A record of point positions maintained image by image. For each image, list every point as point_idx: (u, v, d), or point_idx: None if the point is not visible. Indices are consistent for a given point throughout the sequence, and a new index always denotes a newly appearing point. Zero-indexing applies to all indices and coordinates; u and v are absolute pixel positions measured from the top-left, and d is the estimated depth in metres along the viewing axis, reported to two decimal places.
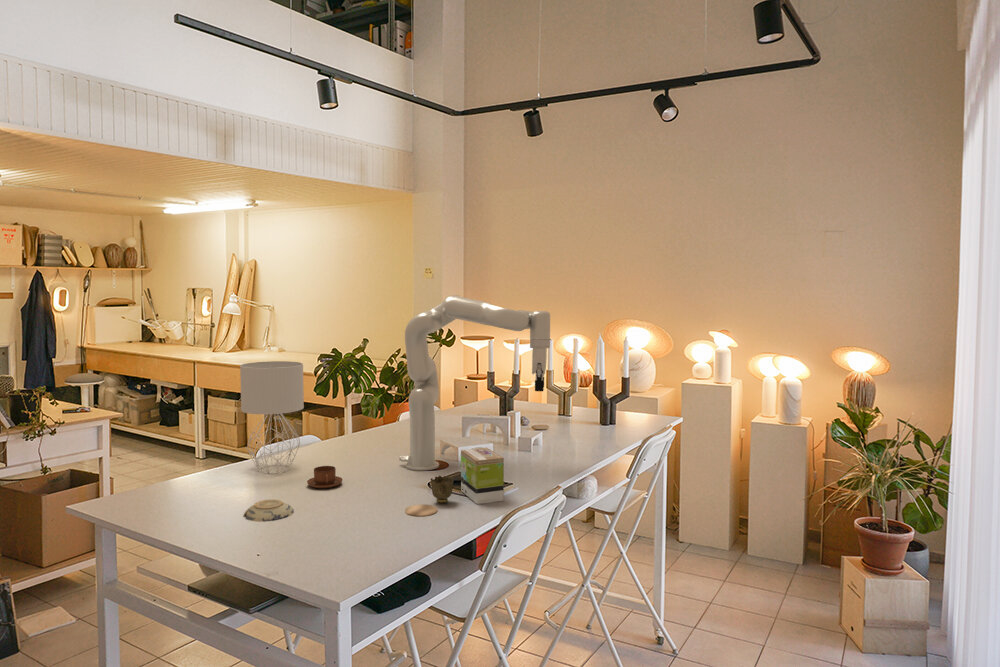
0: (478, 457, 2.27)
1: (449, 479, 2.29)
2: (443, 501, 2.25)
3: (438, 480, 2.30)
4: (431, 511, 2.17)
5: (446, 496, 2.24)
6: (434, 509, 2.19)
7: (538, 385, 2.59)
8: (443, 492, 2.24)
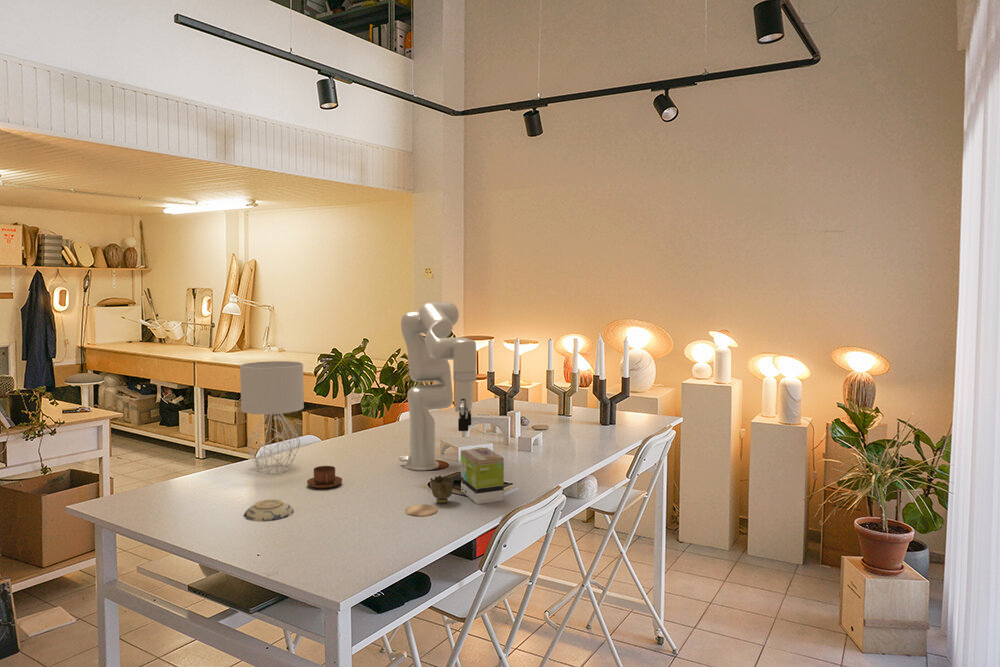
0: (478, 457, 2.27)
1: (449, 479, 2.29)
2: (443, 501, 2.25)
3: (438, 480, 2.30)
4: (431, 511, 2.17)
5: (446, 496, 2.24)
6: (434, 509, 2.19)
7: (462, 424, 2.27)
8: (443, 492, 2.24)
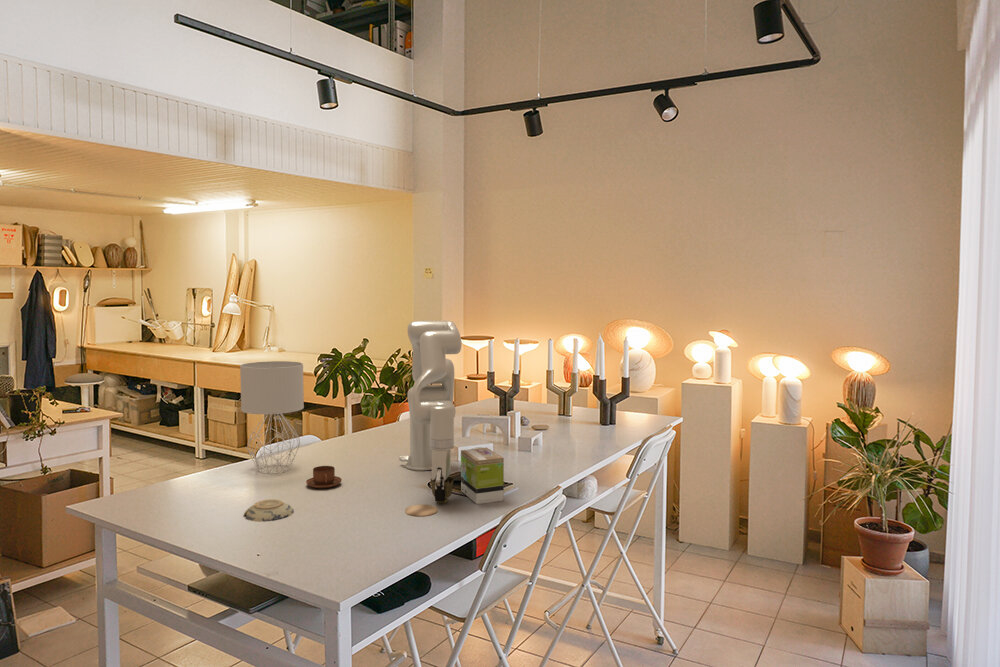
0: (478, 457, 2.27)
1: (449, 479, 2.29)
2: None
3: None
4: (431, 511, 2.17)
5: (446, 496, 2.24)
6: (434, 509, 2.19)
7: (438, 495, 2.22)
8: None
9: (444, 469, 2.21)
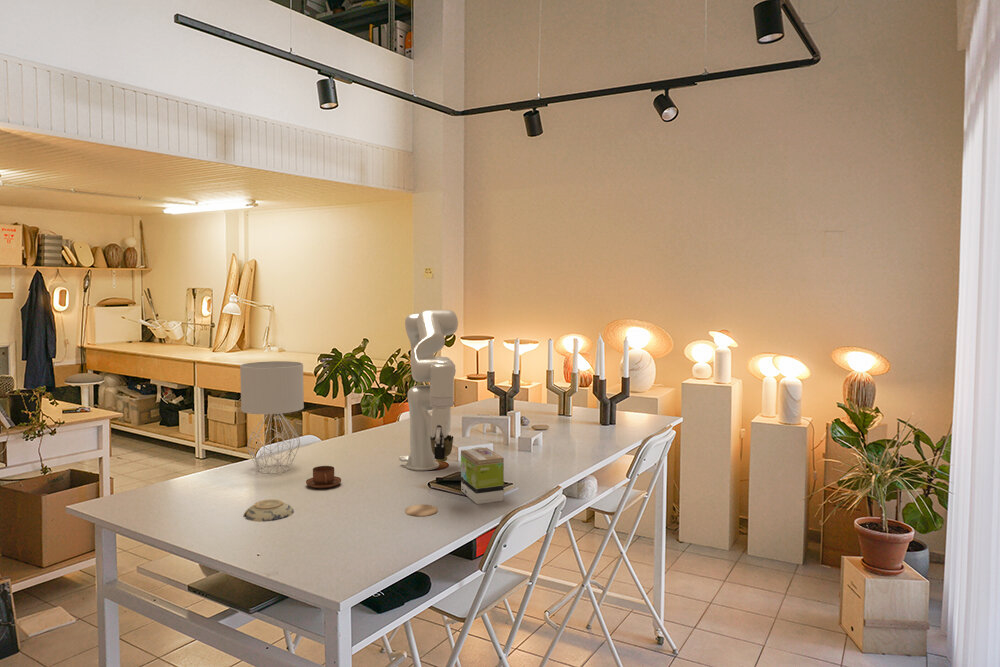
0: (478, 457, 2.27)
1: (449, 437, 2.29)
2: (442, 459, 2.25)
3: None
4: (431, 511, 2.17)
5: (446, 454, 2.24)
6: (434, 509, 2.19)
7: (438, 452, 2.22)
8: None
9: (444, 427, 2.21)
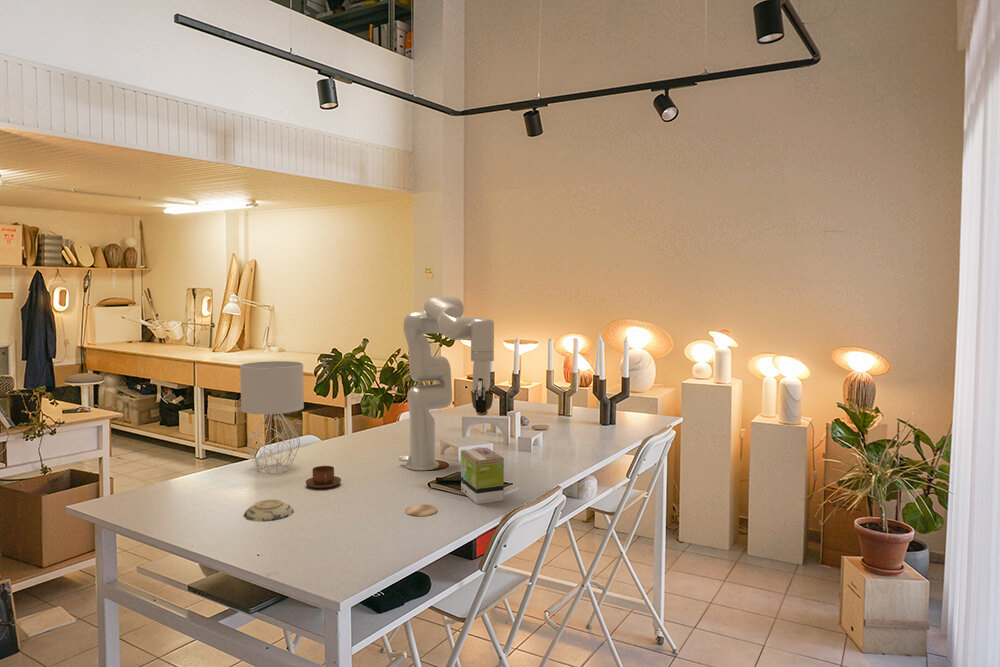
0: (478, 457, 2.27)
1: (489, 393, 2.34)
2: (483, 413, 2.30)
3: None
4: (431, 511, 2.17)
5: (486, 407, 2.29)
6: (434, 509, 2.19)
7: (479, 405, 2.27)
8: None
9: (485, 380, 2.26)
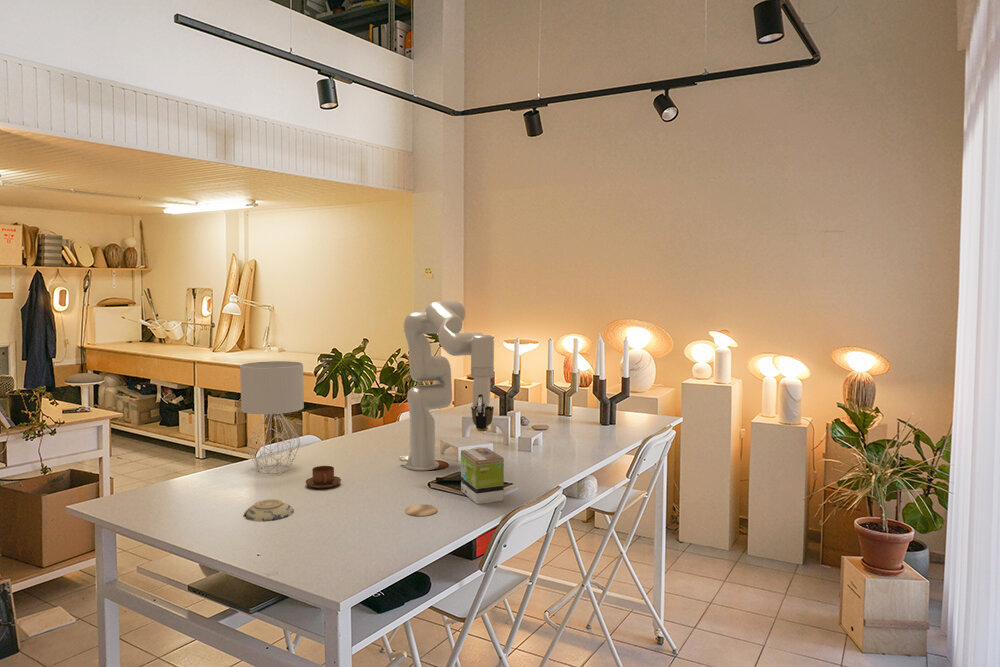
0: (478, 457, 2.27)
1: (489, 408, 2.34)
2: (483, 429, 2.30)
3: None
4: (431, 511, 2.17)
5: (487, 423, 2.30)
6: (434, 509, 2.19)
7: (479, 421, 2.27)
8: None
9: (485, 396, 2.27)
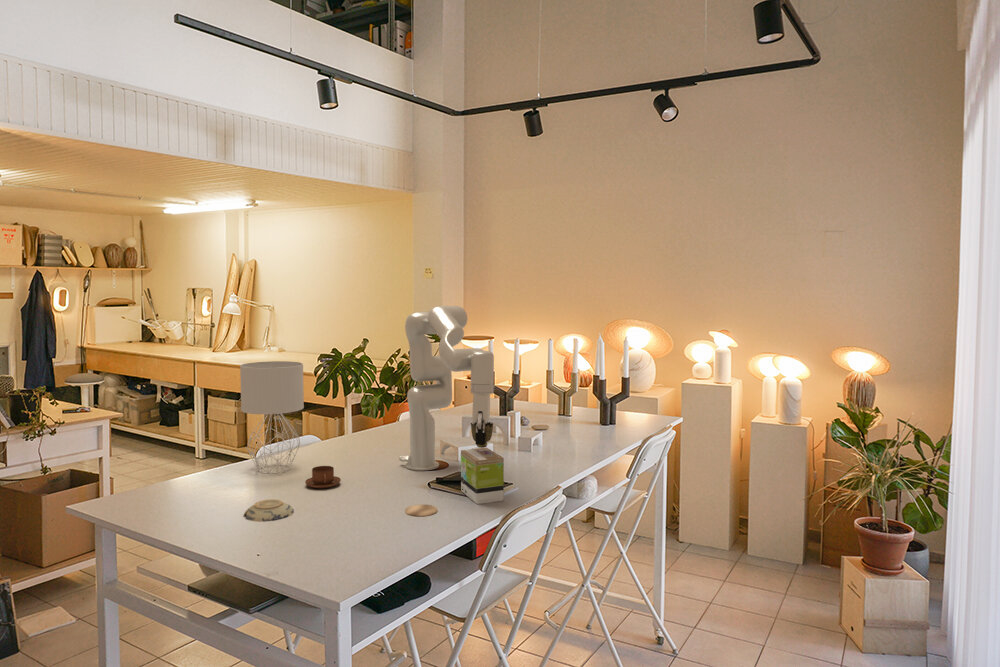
0: (478, 457, 2.27)
1: (488, 424, 2.35)
2: (483, 445, 2.31)
3: None
4: (431, 511, 2.17)
5: (486, 440, 2.30)
6: (434, 509, 2.19)
7: (479, 438, 2.28)
8: None
9: (485, 413, 2.27)
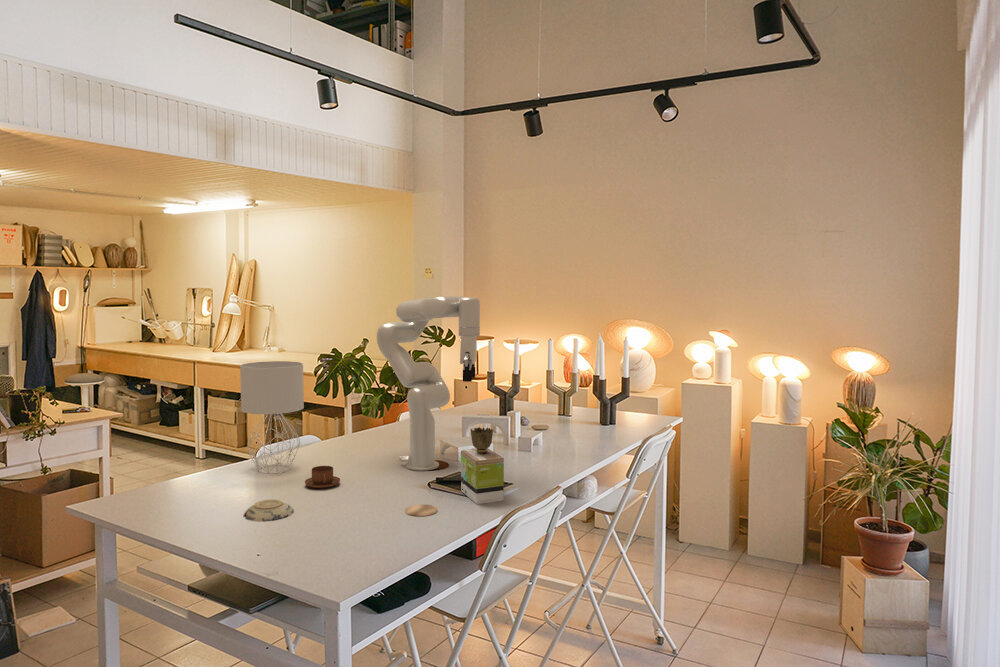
0: (478, 458, 2.27)
1: (488, 430, 2.35)
2: (483, 451, 2.31)
3: (477, 431, 2.35)
4: (431, 511, 2.17)
5: (486, 446, 2.30)
6: (434, 509, 2.19)
7: (466, 375, 2.46)
8: (484, 442, 2.29)
9: (471, 353, 2.46)
